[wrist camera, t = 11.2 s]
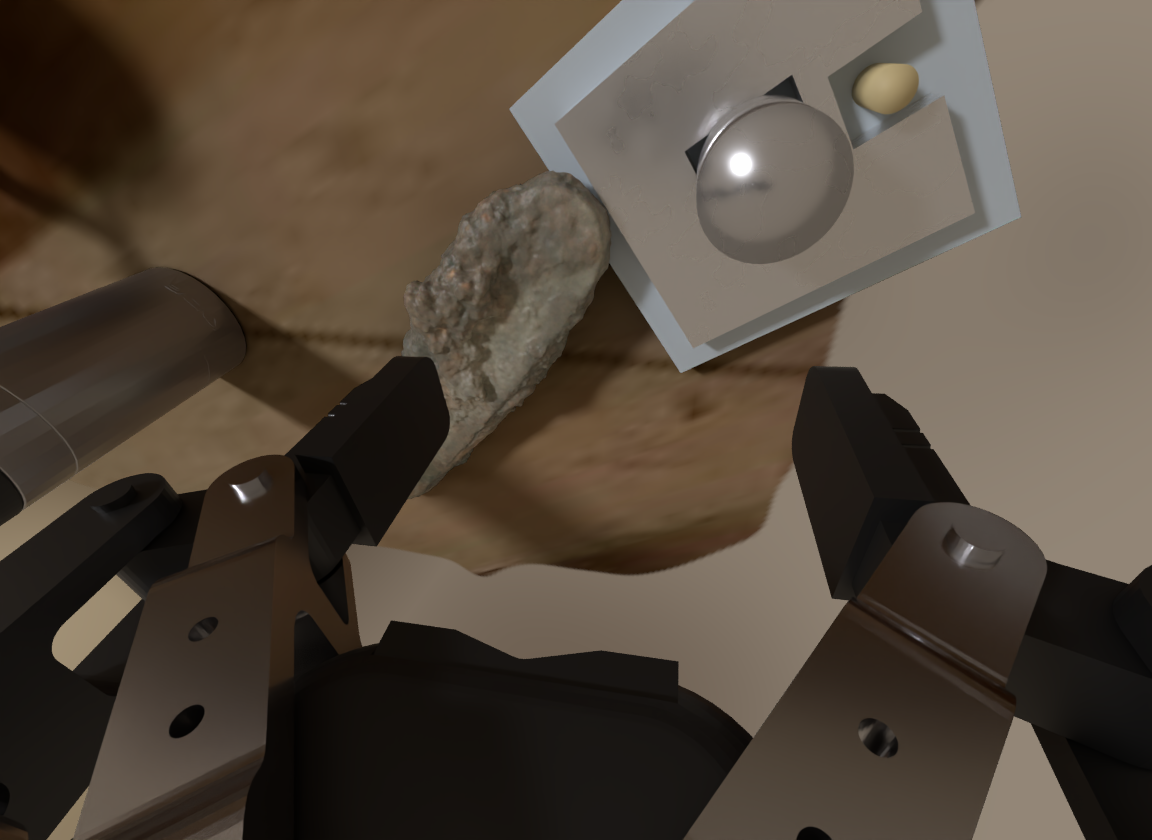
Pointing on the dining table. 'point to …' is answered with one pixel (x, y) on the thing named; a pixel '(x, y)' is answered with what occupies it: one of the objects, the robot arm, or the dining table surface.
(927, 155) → the flange plate
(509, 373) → the long grey stone
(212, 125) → the dining table surface
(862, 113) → the base plate
